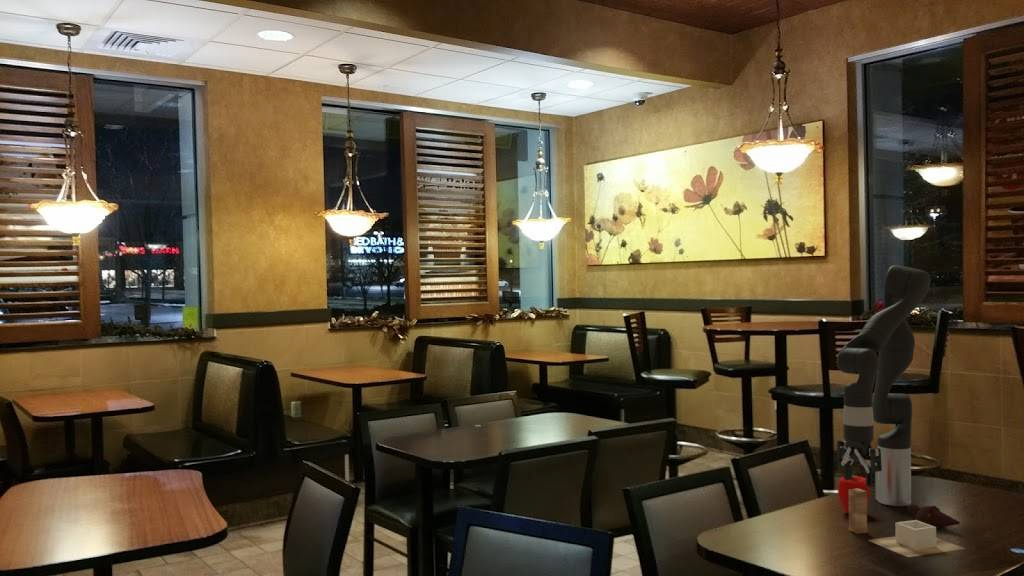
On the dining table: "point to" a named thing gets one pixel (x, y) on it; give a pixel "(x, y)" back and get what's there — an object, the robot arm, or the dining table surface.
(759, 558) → the dining table surface
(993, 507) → the dining table surface
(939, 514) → the icecream
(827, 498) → the dining table surface
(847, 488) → the apple
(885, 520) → the dining table surface
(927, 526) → the white square box
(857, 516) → the square wooden post
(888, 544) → the wooden board
